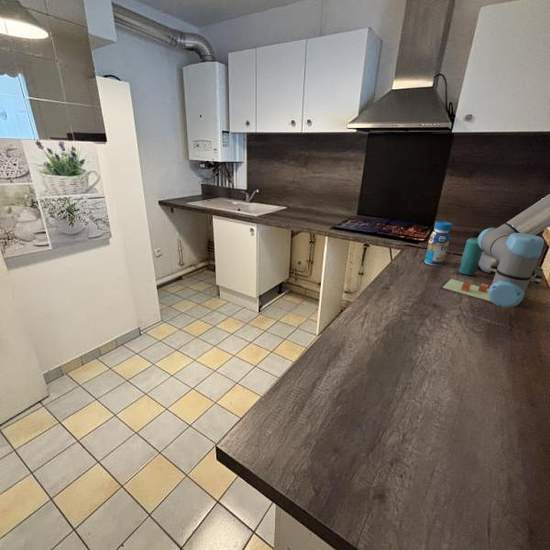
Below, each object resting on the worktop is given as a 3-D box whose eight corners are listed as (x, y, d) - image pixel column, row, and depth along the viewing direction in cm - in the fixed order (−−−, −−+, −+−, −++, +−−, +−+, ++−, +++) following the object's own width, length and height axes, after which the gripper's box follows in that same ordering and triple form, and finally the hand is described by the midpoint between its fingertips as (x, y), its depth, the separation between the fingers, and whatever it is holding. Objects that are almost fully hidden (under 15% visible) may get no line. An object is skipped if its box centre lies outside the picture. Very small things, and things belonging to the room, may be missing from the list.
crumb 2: (487, 290, 111) (489, 285, 110) (485, 292, 110) (487, 286, 109) (479, 288, 113) (481, 283, 112) (478, 290, 111) (480, 284, 110)
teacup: (481, 265, 141) (486, 249, 137) (508, 272, 133) (514, 255, 130) (470, 272, 132) (475, 255, 129) (498, 279, 125) (504, 262, 122)
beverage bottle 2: (476, 279, 125) (491, 233, 117) (460, 277, 126) (473, 232, 118) (470, 273, 131) (483, 229, 123) (454, 272, 132) (466, 228, 124)
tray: (502, 295, 111) (503, 292, 110) (497, 305, 103) (498, 303, 102) (450, 281, 122) (450, 278, 122) (441, 289, 114) (442, 287, 113)
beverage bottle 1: (426, 259, 147) (436, 220, 139) (444, 263, 142) (455, 222, 134) (421, 263, 141) (431, 222, 133) (440, 267, 136) (451, 225, 128)
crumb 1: (469, 289, 112) (471, 284, 111) (468, 291, 110) (470, 285, 109) (462, 287, 113) (464, 282, 112) (460, 289, 112) (462, 283, 111)
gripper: (477, 283, 94) (490, 266, 110) (541, 300, 84) (545, 278, 100) (484, 262, 92) (496, 247, 108) (551, 276, 82) (554, 258, 98)
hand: (520, 262), depth 104 cm, fingers closed on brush, 3 cm apart
